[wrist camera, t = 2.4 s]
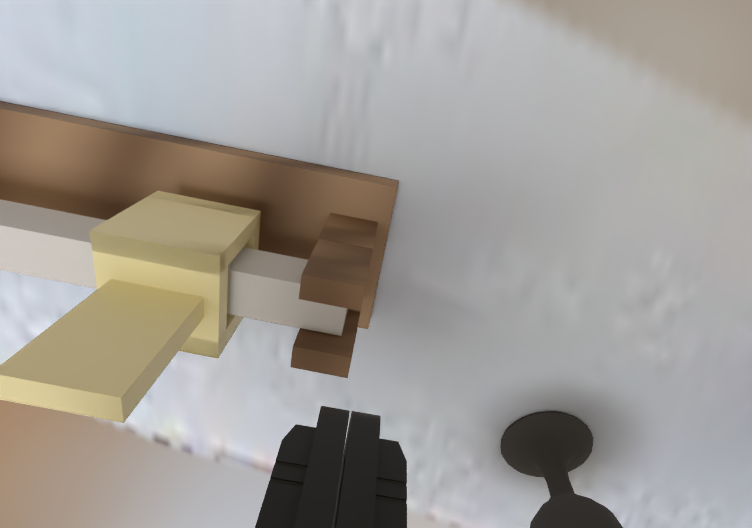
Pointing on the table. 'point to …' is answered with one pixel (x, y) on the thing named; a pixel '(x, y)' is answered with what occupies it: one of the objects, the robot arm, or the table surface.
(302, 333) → the wooden bracket
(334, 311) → the sliding door bolt
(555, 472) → the sundae
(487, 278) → the table surface
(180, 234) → the marker sleeve
